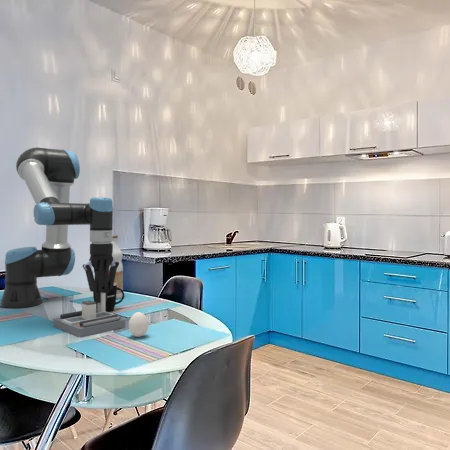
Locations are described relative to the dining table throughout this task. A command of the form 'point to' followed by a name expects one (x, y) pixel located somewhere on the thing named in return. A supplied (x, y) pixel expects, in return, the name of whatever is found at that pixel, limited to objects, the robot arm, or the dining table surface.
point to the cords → (92, 321)
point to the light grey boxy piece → (88, 309)
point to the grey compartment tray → (74, 328)
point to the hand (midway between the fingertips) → (101, 311)
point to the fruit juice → (117, 257)
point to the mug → (111, 298)
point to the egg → (138, 324)
